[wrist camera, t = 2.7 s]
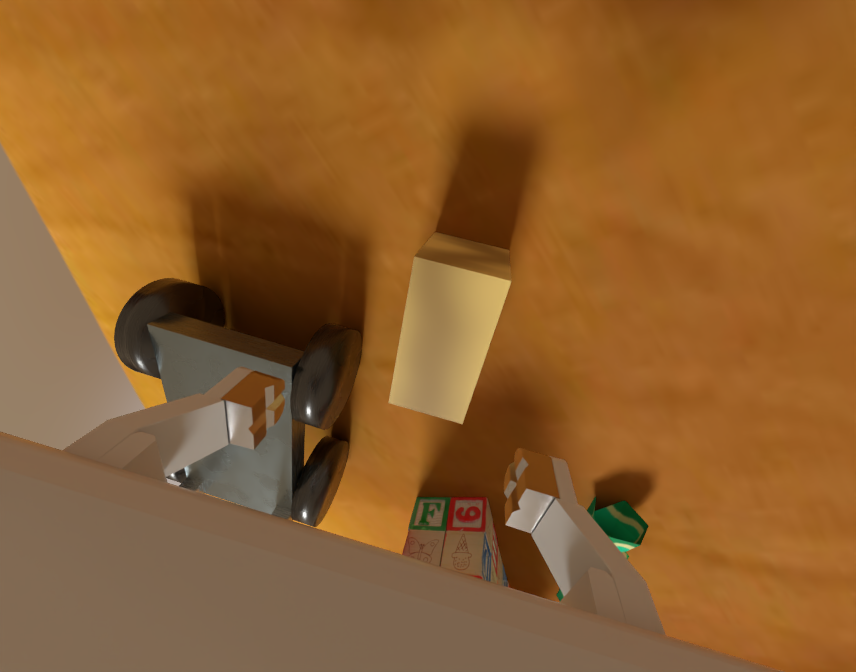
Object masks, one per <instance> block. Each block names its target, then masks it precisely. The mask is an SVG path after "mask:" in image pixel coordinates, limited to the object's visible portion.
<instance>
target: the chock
mask: <svg viewBox="0 0 856 672" xmlns="http://www.w3.org/2000/svg"><path fill="white" fill-rule="evenodd" d="M510 284H511V267H510V253H509V250H507V249H503V248H499V247H495V246H491V245H487V244H483V243H479V242H475V241H471V240H467V239H463V238H459V237H455V236H451V235H446V234H442V233H438V232H435V233H434V234H433V235H432V236H431V237H430V239H429V240H428V241H427V242H426V243H425V244H424V246H423V247H422V248H421V249H420V250H419V252H418V253H417V254H416V255H415V256H414V261H413V267H412V273H411V278H410V284H409V290H408V295H407V301H406V307H405V312H404V318H403V324H402V330H401V335H400V341H399V347H398V352H397V358H396V364H395V369H394V375H393V381H392V387H391V392H390V398H389V403H391V404H394V405H398V406H401V407H405V408H408V409H411V410H415V411H418V412H422V413H425V414H429V415H432V416H436V417H439V418H443V419H446V420H450V421H453V422H457V423H460V424H463V421H464V418H465V415H466V412H467V409H468V407H469V404H470V401H471V398H472V395H473V392H474V389H475V386H476V383H477V380H478V377H479V374H480V372H481V369H482V366H483V363H484V360H485V357H486V354H487V351H488V348H489V345H490V342H491V339H492V337H493V334H494V331H495V328H496V325H497V322H498V319H499V316H500V313H501V310H502V307H503V304H504V302H505V299H506V296H507V293H508V290H509V287H510Z"/></svg>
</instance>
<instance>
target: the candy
mask: <svg viewBox="0 0 856 672" xmlns="http://www.w3.org/2000/svg"><path fill="white" fill-rule="evenodd" d="M595 503H596V497H595V498H594V500H593V501H592V503H591V505H590V506H589V508H588V510H587V512H588V513H589V514H590V515H591V517H592V518H593V519H594V520H595V522H596V523H597V524H598V525H599V526H600V528H601V529H602V530H603V531H604V532H605V534H606V535H607V536H608V537H609V538H610V540H611V541H612V542H613V543H614V544H615V546H616V547H617V548H618V549H619V550H620V552H621V553H622V554H623V555H624V556H625V558H626V559H628V557H629V556H628V554H627V553H626V551H628V550H630V549H633V548H635V547H637V546H640V545H641V542H642V540H643V538H644V535H645V533H646V531H647V528H648V525H647V524H646V523H645V521H644V520H643V519H642V518H641V517H640V516H639V515H638V514H637V513H636V512H635V510H634V509H633V508H632V507H631V506H630V505H629V504H628V503H627V502H626V501H621V502H619V503H616V504H613V505H610V506H608V507H605V508H602V509H599V510H597V511H595ZM557 597H558V599H559V600H560V601H561V600H562V599H563V598H564V595H563V593H562V591H561V590H560V589H559V591H558V593H557Z"/></svg>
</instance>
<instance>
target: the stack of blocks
mask: <svg viewBox="0 0 856 672" xmlns="http://www.w3.org/2000/svg"><path fill="white" fill-rule="evenodd" d="M408 530H409V532H408V536H407V539H406V543H405V546H404V550H403V554H402V555H405V556H408V557H411V558H414V559H418V560H421V561H424V562H428V563H431V564H434V565H437V566H441V567H444V568H447V569H451V570H454V571H457V572H460V573H464V574H467V575H470V576H473V577H477V578H480V579H483V580H487V581H490V582H493V583H496V584H500V585H503V586H506V587H509V588H510V586H509V582H508V581H507V578H506V574H505V570H504V566H503V563H502V559H501V555H500V551H499V547H498V540H497V536H496V532H495V528H494V524H493V519H492V514H491V510H490V506H489V502H488V499H487V497H451V498H450V497H417V499H416V502H415V506H414V509H413V513H412V516H411V520H410V524H409V527H408Z"/></svg>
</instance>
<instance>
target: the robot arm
mask: <svg viewBox="0 0 856 672" xmlns="http://www.w3.org/2000/svg"><path fill="white" fill-rule="evenodd" d="M284 389H285V381H284V380H283V379H280V378H277V377H274V376H271V375H268V374H265V373H261V372H258V371H254V370H251V369H248V368H245V367H238V368H236V369H235V370H233V371H232V372H231V373H230V374H228V375H227V376H226V377H225V378H223V379H222V380H221V381H220V382H219V383H217V384H216V385H215V386H214V387H212V388H211V389H210V390H209V391H207V392H206V393H205V394H204V395H203V394H200V393H199V394H195V395H192V396H188V397H185V398H181V399H178V400H175V401H171V402H168V403H164V404H161V405H157V406H154V407H150V408H147V409H144V410H140V411H137V412H133V413H130V414H126V415H123V416H120V417H116V418H113V419H110V420H107V421H105V422H104V423H103V424H101V425H100V426H98V427H96V428H95V429H94V430H92V431H91V432H89V433H88V434H86V435H85V436H83V437H82V438H80V439H79V440H77V441H76V442H74V443H73V444H71V445H70V446H68V447H67V448H65V449H64V450H59V449H56V448H52V447H49V446H46V445H42V444H39V443H36V442H33V441H30V440H26V439H23V438H19V437H16V436H13V435H10V434H7V433H3V432H0V672H784V671H781V670H777V669H774V668H771V667H767V666H764V665H761V664H758V663H754V662H751V661H748V660H744V659H741V658H738V657H735V656H731V655H728V654H725V653H721V652H718V651H715V650H712V649H708V648H705V647H702V646H699V645H695V644H692V643H689V642H685V641H682V640H679V639H676V638H672V637H669V636H666V635H665V632H664V629H663V627H662V624H661V621H660V619H659V616H658V613H657V610H656V608H655V605H654V602H653V600H652V597H651V594H650V592H649V589H648V586H647V583H646V582H645V580H644V579H643V578H642V577H641V576H640V574H639V573H638V572H637V571H636V570H635V568H634V567H633V566H632V565H631V564H630V562H629V561H628V560H627V559H626V558H625V556H624V555H623V554H622V553H621V552H620V550H619V549H618V548H617V547H616V546H615V544H614V543H613V542H612V541H611V540H610V538H609V537H608V536H607V535H606V534H605V532H604V531H603V530H602V529H601V528H600V526H599V525H598V524H597V523H596V522H595V520H594V519H593V518H592V517H591V515H590V514H589V513H588V512H587V511H586V509H585V508H584V507H583V506H581V505H578V503H577V499H576V495H575V491H574V488H573V484H572V480H571V476H570V473H569V469H568V465H567V462H566V461H565V460H563V459H560V458H556V457H552V456H548V455H544V454H541V453H537V452H534V451H530V450H527V449H523V448H518V449H517V451H516V453H515V454H514V461H515V462H513V463H511V464H509V466H508V469H507V471H506V474H505V478H504V494H505V495H506V497H507V499H508V500H507V501H506V503H505V505H504V508H505V525H507V526H510V527H513V528H516V529H519V530H522V531H525V532H528V533H531V534H532V537H533V539H534V541H535V543H536V545H537V547H538V548H539V550H540V552H541V554H542V556H543V558H544V560H545V562H546V563H547V565H548V567H549V569H550V571H551V573H552V575H553V577H554V578H555V580H556V582H557V584H558V586H559V588H560V590H561V591H562V593H563V595H564V598H563V599H562V600H561V601H560V602H559V603H558V602H555V601H552V600H548V599H545V598H542V597H539V596H535V595H532V594H529V593H526V592H522V591H519V590H516V589H513V588H509V587H506V586H503V585H500V584H496V583H493V582H490V581H487V580H483V579H480V578H477V577H473V576H470V575H467V574H464V573H460V572H457V571H454V570H451V569H447V568H444V567H441V566H437V565H434V564H431V563H428V562H424V561H421V560H418V559H414V558H411V557H408V556H405V555H401V554H398V553H395V552H391V551H388V550H385V549H382V548H378V547H375V546H372V545H369V544H365V543H362V542H359V541H356V540H352V539H349V538H346V537H343V536H339V535H336V534H333V533H330V532H326V531H323V530H320V529H317V528H313V527H310V526H307V525H304V524H300V523H297V522H294V521H291V520H287V519H284V518H281V517H277V516H274V515H271V514H268V513H264V512H261V511H258V510H255V509H251V508H248V507H245V506H242V505H238V504H235V503H232V502H229V501H225V500H222V499H219V498H215V497H212V496H209V495H206V494H202V493H199V492H196V491H193V490H189V489H186V488H183V487H180V486H176V485H173V484H170V483H167V479H166V477H167V476H169V475H171V474H173V473H175V472H177V471H179V470H181V469H183V468H185V467H186V466H188V465H190V464H192V463H194V462H196V461H198V460H200V459H202V458H204V457H206V456H208V455H210V454H211V453H213V452H215V451H217V450H219V449H221V448H223V447H225V446H227V445H228V444H229V443H230V444H234V445H238V446H241V447H245V448H249V449H253V450H254V449H255V448H256V447H257V446H258V445H259V443H260V442H261V441H262V440H263V439H264V437H265V436H266V429H267V428H269V427H271V426H274V425H275V424H276V423H277V421H278V420H279V419H280V417H281V414H282V412H283V410H284V405H285V398H284V397H283V395H282V394H281V393H282V392H283V390H284Z"/></svg>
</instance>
